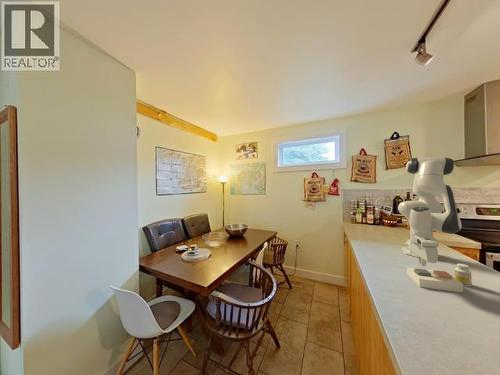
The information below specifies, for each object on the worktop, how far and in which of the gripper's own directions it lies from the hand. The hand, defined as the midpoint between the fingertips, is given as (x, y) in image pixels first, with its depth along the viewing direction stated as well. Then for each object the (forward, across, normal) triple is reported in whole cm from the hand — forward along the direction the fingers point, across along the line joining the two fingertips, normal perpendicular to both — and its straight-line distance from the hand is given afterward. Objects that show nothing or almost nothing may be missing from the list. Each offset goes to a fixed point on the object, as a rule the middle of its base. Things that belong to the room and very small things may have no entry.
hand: (422, 265), depth 96 cm
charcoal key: (+6, 0, 0) cm, 6 cm away
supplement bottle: (+9, -2, +17) cm, 19 cm away
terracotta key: (+6, 0, +8) cm, 10 cm away
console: (+9, 0, +4) cm, 9 cm away
